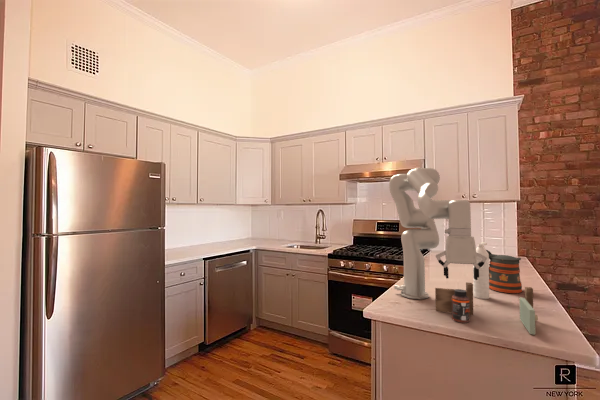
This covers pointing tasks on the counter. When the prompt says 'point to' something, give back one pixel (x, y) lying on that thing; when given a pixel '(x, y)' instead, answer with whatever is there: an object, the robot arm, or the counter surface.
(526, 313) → the door leaf
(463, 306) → the supplement bottle
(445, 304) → the wall frame
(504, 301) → the counter surface
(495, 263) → the beer stein
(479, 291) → the water bottle
